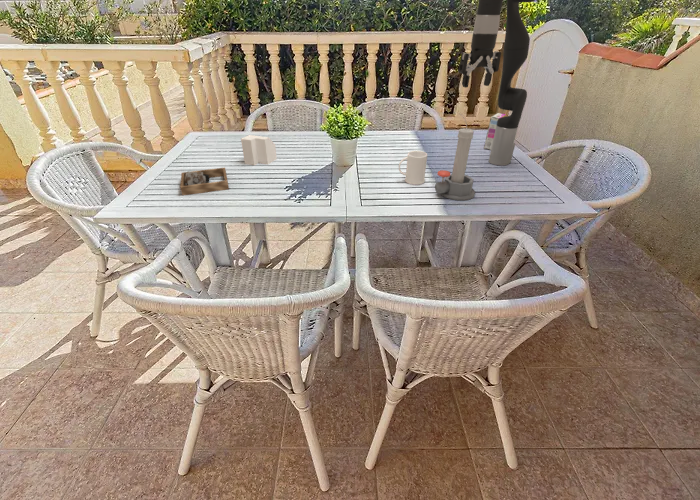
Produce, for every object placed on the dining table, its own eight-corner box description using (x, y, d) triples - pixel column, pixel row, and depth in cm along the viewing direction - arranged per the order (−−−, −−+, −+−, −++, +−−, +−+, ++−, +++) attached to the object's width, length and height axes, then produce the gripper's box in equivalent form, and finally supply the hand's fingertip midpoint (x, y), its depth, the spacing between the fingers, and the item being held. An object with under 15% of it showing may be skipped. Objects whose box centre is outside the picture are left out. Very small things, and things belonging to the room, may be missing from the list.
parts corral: (226, 174, 165) (225, 167, 163) (229, 189, 152) (227, 181, 150) (183, 180, 160) (181, 172, 158) (182, 195, 147) (180, 187, 145)
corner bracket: (245, 163, 176) (240, 138, 169) (258, 156, 185) (255, 132, 178) (264, 167, 173) (260, 141, 166) (276, 159, 181) (274, 134, 175)
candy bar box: (492, 150, 191) (500, 118, 182) (483, 149, 193) (490, 116, 184) (499, 145, 199) (506, 113, 189) (490, 143, 201) (497, 112, 192)
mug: (398, 185, 156) (400, 157, 149) (396, 177, 163) (398, 150, 156) (426, 185, 156) (429, 157, 149) (423, 177, 163) (426, 150, 156)
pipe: (462, 194, 145) (477, 116, 128) (446, 192, 147) (459, 115, 130) (462, 188, 150) (477, 112, 133) (446, 187, 151) (459, 111, 134)
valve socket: (461, 183, 156) (465, 161, 151) (481, 197, 145) (487, 174, 140) (426, 189, 152) (429, 167, 146) (444, 204, 141) (448, 180, 135)
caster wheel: (204, 184, 163) (215, 187, 156) (178, 186, 155) (189, 189, 149) (202, 168, 161) (214, 171, 154) (176, 170, 153) (187, 173, 146)
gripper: (496, 30, 122) (486, 83, 132) (459, 31, 119) (451, 85, 128) (511, 32, 117) (499, 87, 126) (473, 33, 113) (464, 89, 122)
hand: (475, 86), depth 127 cm, fingers open, 8 cm apart
